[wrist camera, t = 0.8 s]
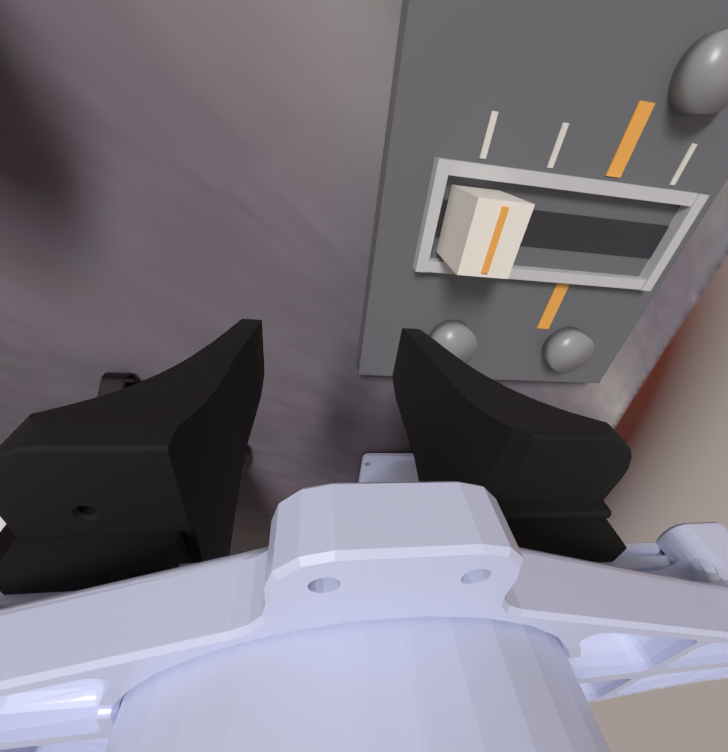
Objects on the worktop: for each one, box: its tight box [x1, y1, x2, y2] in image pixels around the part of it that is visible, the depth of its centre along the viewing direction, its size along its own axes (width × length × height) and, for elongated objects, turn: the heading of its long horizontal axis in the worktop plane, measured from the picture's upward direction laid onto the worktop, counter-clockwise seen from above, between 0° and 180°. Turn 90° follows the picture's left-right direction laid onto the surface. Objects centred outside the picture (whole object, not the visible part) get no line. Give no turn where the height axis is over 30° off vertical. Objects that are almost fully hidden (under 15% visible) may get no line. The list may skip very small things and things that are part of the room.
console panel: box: [357, 0, 728, 383], centre depth 19 cm, size 20×18×3 cm
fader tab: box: [436, 185, 535, 279], centre depth 17 cm, size 3×2×4 cm
